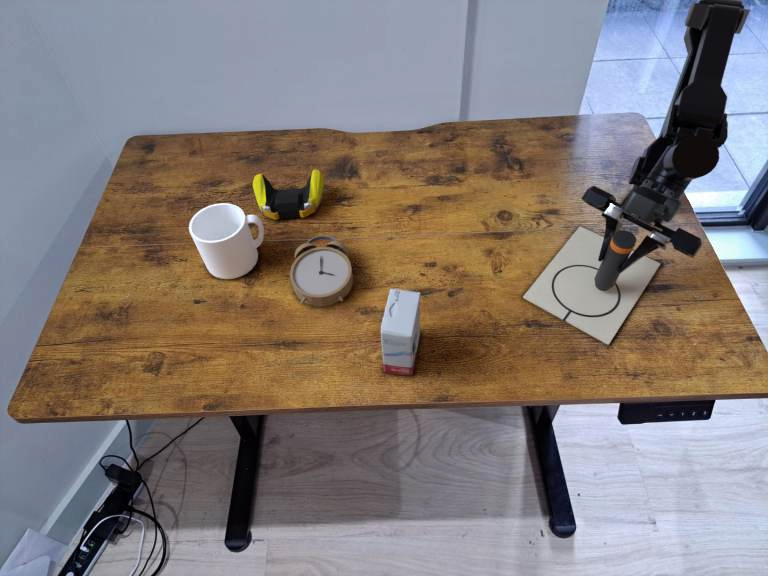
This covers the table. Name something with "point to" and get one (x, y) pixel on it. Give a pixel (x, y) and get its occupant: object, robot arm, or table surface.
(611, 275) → the marker
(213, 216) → the mug
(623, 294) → the paper sheet
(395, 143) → the table surface
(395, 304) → the ink box
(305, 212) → the gaming controller
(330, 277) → the alarm clock
